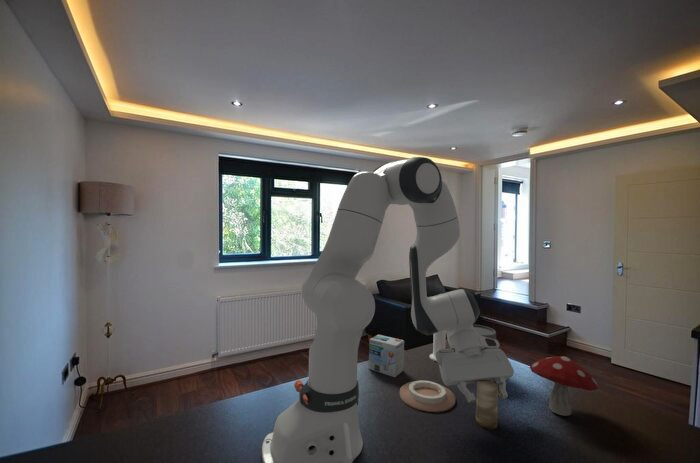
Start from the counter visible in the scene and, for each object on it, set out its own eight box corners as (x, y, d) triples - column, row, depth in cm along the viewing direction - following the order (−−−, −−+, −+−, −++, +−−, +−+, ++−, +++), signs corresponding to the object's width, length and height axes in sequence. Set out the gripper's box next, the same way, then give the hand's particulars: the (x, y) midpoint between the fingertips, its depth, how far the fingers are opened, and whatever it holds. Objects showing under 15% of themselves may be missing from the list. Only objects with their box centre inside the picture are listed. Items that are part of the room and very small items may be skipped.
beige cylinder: (486, 431, 79) (487, 390, 79) (471, 419, 84) (472, 381, 84) (502, 426, 81) (503, 387, 81) (486, 415, 86) (487, 378, 86)
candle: (449, 363, 119) (451, 296, 118) (429, 361, 120) (431, 295, 120) (447, 355, 126) (449, 292, 125) (429, 354, 127) (430, 291, 127)
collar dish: (419, 417, 84) (419, 408, 84) (389, 388, 99) (390, 380, 99) (467, 405, 90) (467, 397, 90) (433, 380, 105) (433, 373, 105)
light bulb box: (367, 369, 112) (368, 338, 112) (377, 362, 118) (378, 333, 118) (395, 377, 106) (396, 345, 106) (404, 370, 112) (404, 340, 112)
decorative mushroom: (520, 393, 98) (522, 344, 98) (578, 399, 95) (580, 349, 95) (542, 424, 82) (543, 366, 82) (612, 433, 79) (614, 373, 79)
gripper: (437, 344, 87) (457, 399, 77) (502, 340, 91) (528, 391, 82) (429, 354, 91) (447, 407, 82) (491, 349, 96) (515, 399, 86)
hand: (488, 399), depth 82 cm, fingers open, 8 cm apart
